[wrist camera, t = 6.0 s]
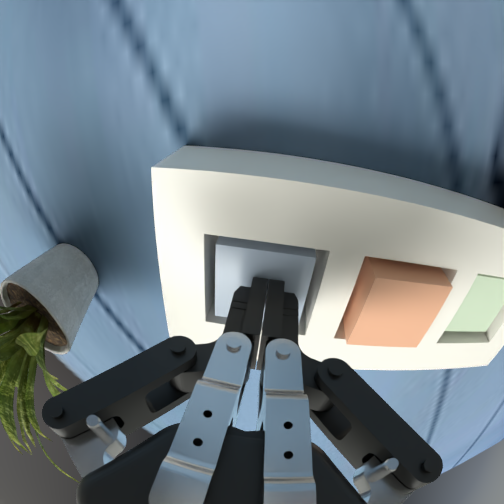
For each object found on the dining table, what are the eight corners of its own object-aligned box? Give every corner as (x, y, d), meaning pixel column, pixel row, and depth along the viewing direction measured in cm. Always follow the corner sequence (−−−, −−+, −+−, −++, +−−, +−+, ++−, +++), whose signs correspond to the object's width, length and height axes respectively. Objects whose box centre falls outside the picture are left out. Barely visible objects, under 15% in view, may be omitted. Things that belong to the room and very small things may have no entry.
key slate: (223, 287, 17) (214, 315, 15) (226, 220, 15) (215, 244, 13) (297, 297, 17) (297, 327, 15) (312, 231, 14) (316, 258, 12)
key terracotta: (341, 312, 16) (346, 344, 14) (364, 248, 13) (375, 277, 11) (406, 318, 16) (416, 347, 14) (435, 259, 13) (452, 287, 11)
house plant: (199, 281, 19) (108, 531, 6) (128, 354, 26) (68, 495, 12) (46, 158, 15) (-136, 303, 2) (21, 269, 22) (-70, 385, 8)
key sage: (431, 305, 17) (442, 330, 15) (458, 252, 14) (475, 275, 12) (473, 309, 16) (485, 331, 14) (500, 260, 14) (516, 281, 12)
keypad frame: (189, 301, 20) (171, 344, 17) (184, 145, 14) (151, 167, 11) (471, 329, 19) (487, 365, 16) (529, 218, 13) (561, 249, 10)
